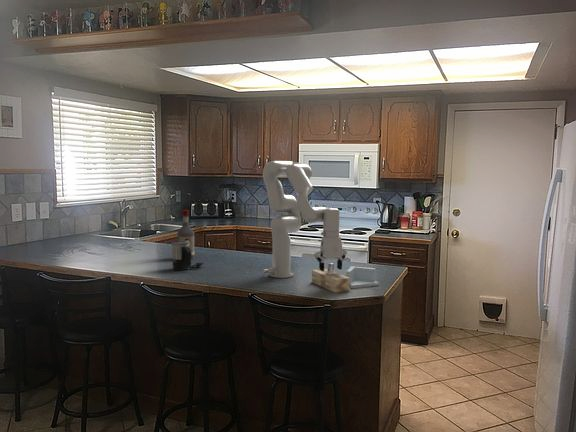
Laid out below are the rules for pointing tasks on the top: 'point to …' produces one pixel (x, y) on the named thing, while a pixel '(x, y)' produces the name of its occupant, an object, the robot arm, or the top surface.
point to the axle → (330, 269)
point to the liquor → (186, 233)
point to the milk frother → (182, 256)
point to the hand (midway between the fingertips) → (330, 269)
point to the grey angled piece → (361, 277)
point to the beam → (331, 281)
